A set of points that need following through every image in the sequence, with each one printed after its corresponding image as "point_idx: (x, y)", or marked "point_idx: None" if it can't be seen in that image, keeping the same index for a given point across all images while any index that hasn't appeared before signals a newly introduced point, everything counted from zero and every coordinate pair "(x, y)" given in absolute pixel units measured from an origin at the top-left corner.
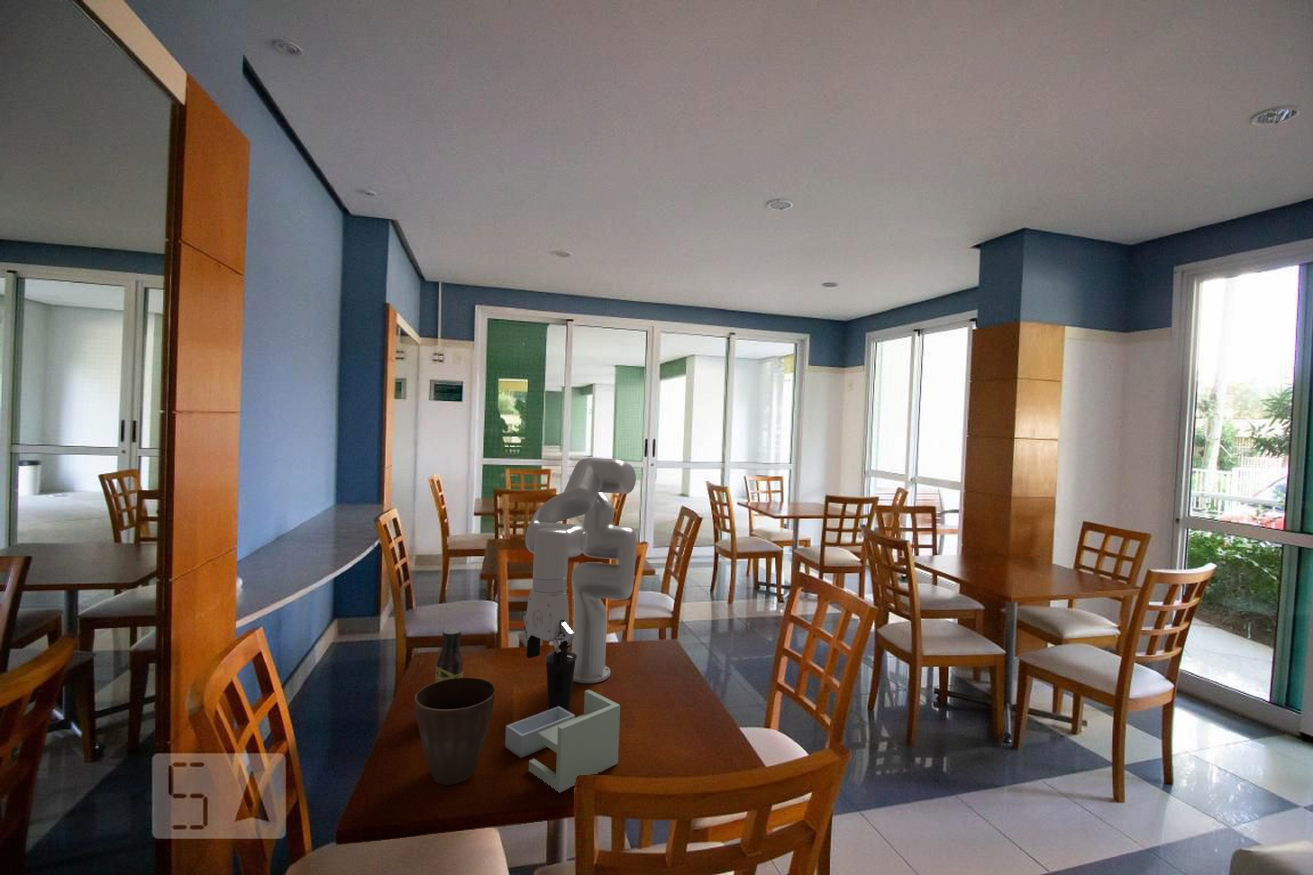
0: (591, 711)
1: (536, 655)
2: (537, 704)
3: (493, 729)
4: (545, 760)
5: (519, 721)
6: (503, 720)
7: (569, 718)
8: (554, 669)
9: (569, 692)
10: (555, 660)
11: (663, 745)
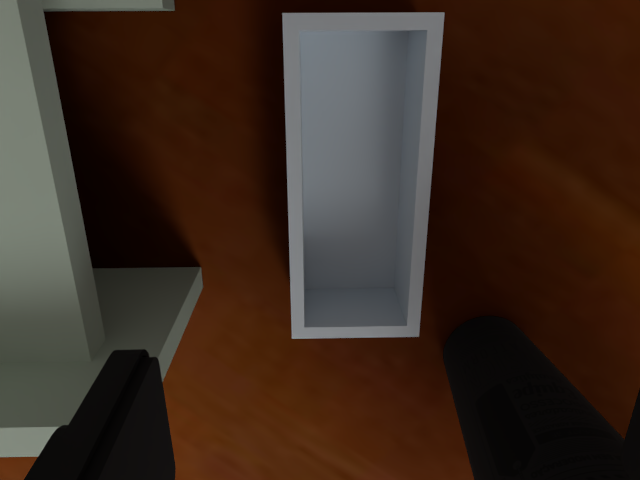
0: (88, 359)
1: (631, 432)
2: (606, 331)
3: (589, 65)
4: (201, 91)
5: (430, 101)
6: (617, 148)
7: (291, 307)
8: (112, 354)
9: (462, 432)
10: (62, 442)
11: None
